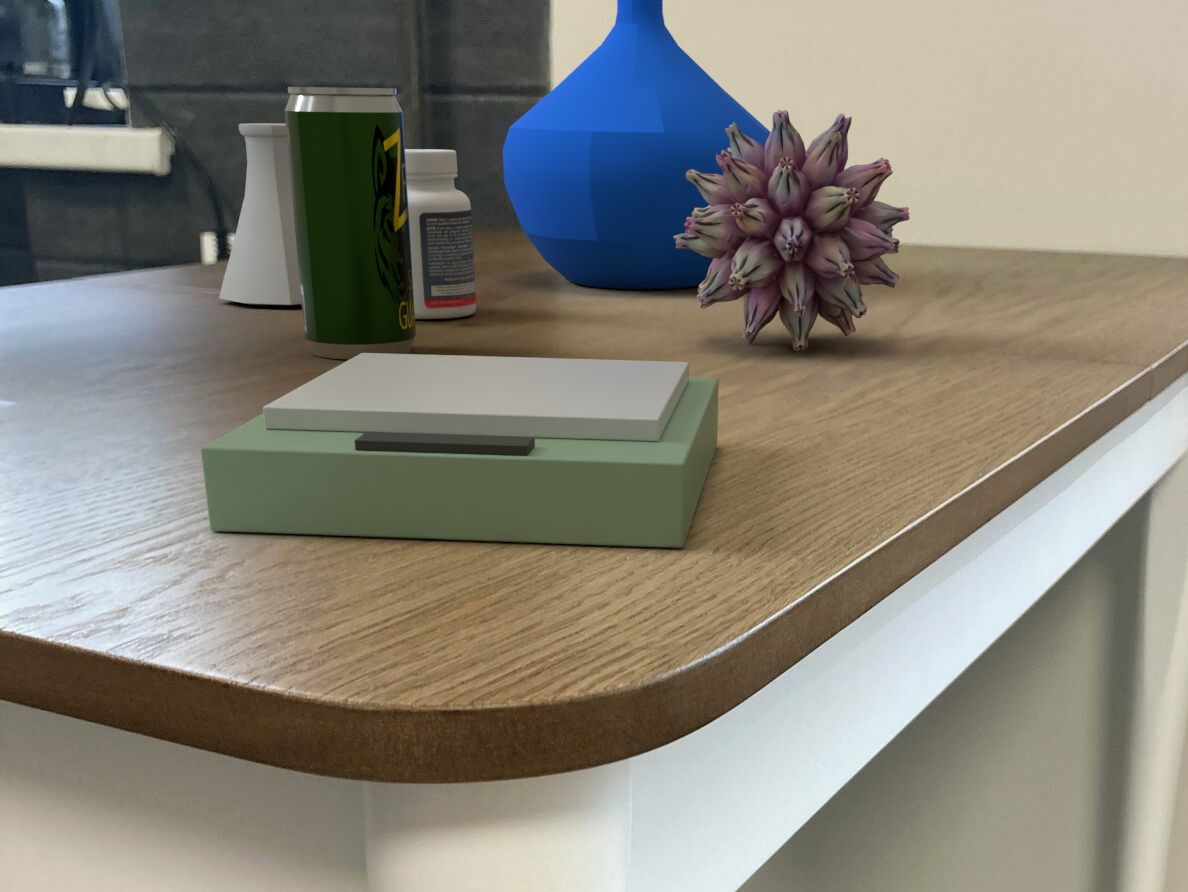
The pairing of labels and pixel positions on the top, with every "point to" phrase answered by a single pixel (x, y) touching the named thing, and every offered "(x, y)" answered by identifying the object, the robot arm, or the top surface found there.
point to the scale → (474, 452)
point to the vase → (622, 158)
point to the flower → (792, 229)
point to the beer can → (351, 220)
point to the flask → (265, 225)
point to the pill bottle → (439, 236)
